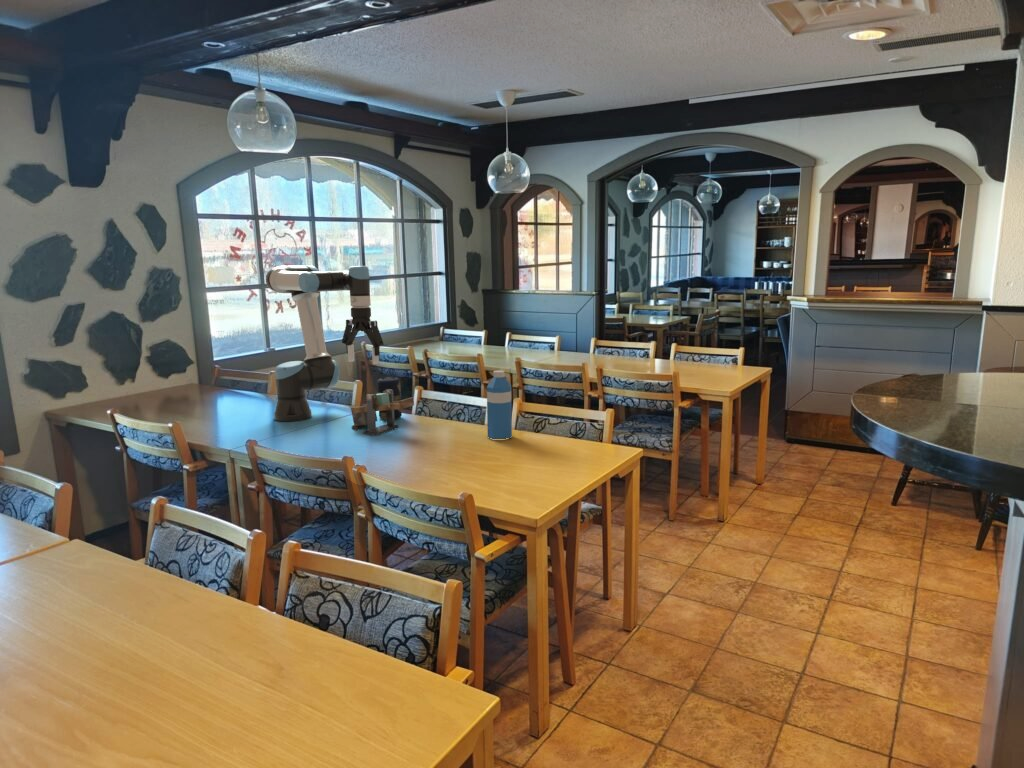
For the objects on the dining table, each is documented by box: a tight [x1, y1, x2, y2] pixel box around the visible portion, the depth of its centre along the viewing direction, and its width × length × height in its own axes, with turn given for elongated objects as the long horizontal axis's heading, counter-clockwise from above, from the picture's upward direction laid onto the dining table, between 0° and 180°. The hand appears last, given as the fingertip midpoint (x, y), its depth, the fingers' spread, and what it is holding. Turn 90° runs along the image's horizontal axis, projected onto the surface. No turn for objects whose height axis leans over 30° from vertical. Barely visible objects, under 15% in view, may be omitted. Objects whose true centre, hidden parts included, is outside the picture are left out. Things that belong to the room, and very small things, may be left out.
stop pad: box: [351, 424, 368, 431], centre depth 270 cm, size 3×7×1 cm, turn 150°
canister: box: [376, 375, 403, 421], centre depth 282 cm, size 10×10×18 cm
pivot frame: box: [363, 389, 400, 436], centre depth 263 cm, size 6×14×15 cm, turn 150°
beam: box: [350, 391, 415, 426], centre depth 263 cm, size 26×9×12 cm, turn 60°
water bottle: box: [486, 369, 513, 439], centre depth 250 cm, size 9×9×25 cm
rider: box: [375, 393, 390, 405], centre depth 263 cm, size 6×4×5 cm, turn 60°
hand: (363, 362), depth 264 cm, fingers open, 12 cm apart
